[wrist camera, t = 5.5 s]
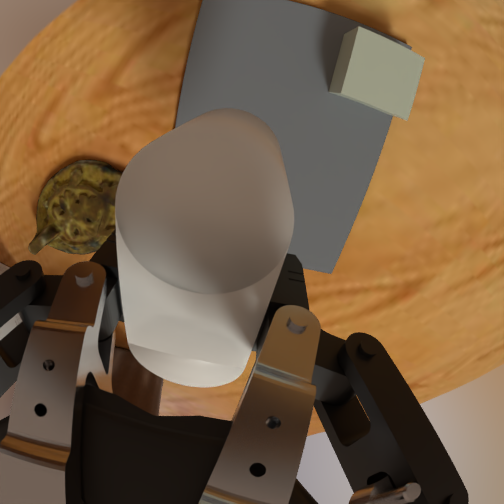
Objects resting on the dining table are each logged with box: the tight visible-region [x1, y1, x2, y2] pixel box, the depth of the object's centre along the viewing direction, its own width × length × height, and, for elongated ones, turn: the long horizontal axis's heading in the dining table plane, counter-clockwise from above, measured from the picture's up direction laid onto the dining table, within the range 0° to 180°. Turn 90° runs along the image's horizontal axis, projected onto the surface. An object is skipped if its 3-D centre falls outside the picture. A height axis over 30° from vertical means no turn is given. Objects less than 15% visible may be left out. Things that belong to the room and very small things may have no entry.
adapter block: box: [329, 26, 425, 121], centre depth 15 cm, size 5×5×4 cm
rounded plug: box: [115, 108, 294, 387], centre depth 10 cm, size 12×4×5 cm, turn 168°
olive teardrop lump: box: [29, 160, 123, 255], centre depth 23 cm, size 9×5×15 cm
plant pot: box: [111, 347, 163, 416], centre depth 33 cm, size 16×16×16 cm
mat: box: [175, 0, 412, 274], centre depth 20 cm, size 22×16×1 cm
